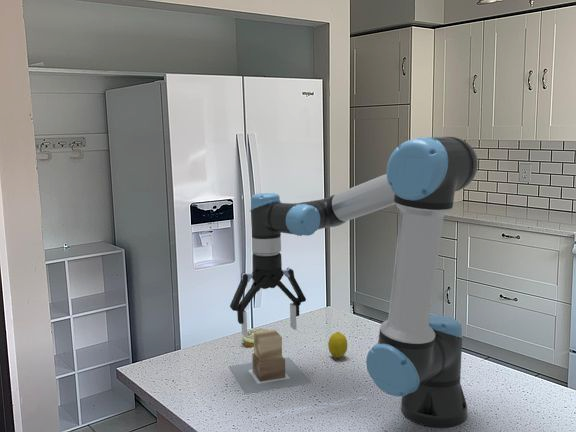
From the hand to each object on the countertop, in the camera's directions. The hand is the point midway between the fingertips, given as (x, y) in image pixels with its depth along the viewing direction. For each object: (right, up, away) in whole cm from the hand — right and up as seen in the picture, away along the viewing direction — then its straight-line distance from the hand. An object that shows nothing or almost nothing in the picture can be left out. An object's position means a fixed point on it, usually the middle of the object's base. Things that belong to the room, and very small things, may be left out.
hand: (269, 331), depth 152 cm
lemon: (+20, -11, +16) cm, 27 cm away
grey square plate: (0, -13, +2) cm, 13 cm away
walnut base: (0, -12, +2) cm, 12 cm away
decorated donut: (-4, -10, +27) cm, 29 cm away
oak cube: (0, -7, +2) cm, 7 cm away
